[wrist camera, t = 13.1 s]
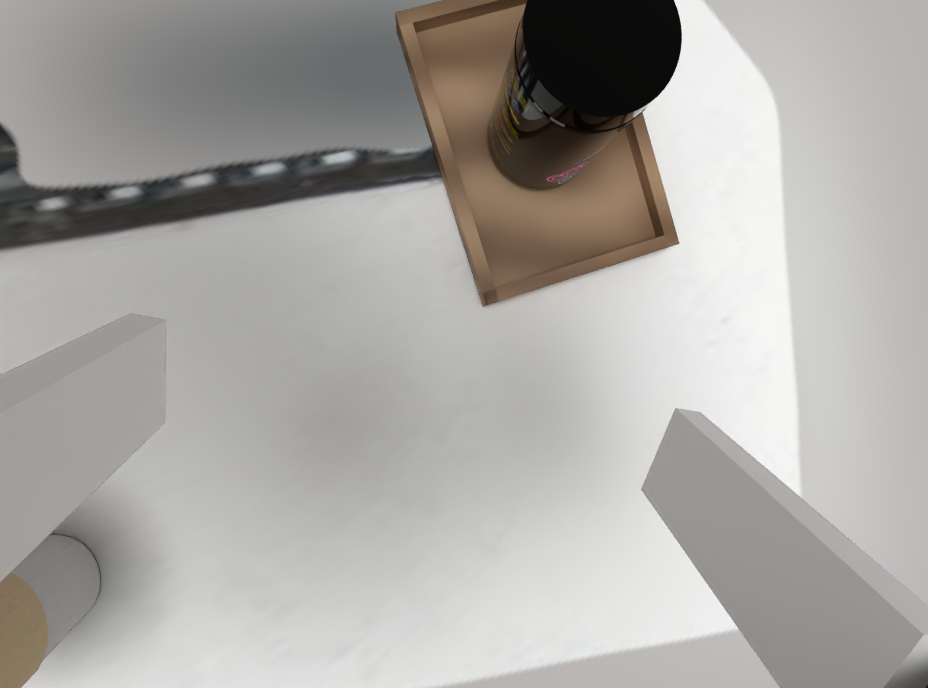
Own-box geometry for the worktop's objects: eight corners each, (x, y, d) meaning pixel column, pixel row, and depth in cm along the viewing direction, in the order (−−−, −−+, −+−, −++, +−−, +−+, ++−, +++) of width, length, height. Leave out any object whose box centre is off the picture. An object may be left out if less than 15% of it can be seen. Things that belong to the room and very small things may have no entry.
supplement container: (518, 213, 29) (574, 147, 18) (464, 118, 28) (490, -5, 18) (607, 161, 29) (710, 68, 19) (555, 66, 29) (632, -82, 18)
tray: (396, 32, 28) (395, 12, 27) (588, -18, 30) (599, -41, 28) (482, 306, 30) (486, 305, 28) (664, 248, 31) (679, 243, 29)
